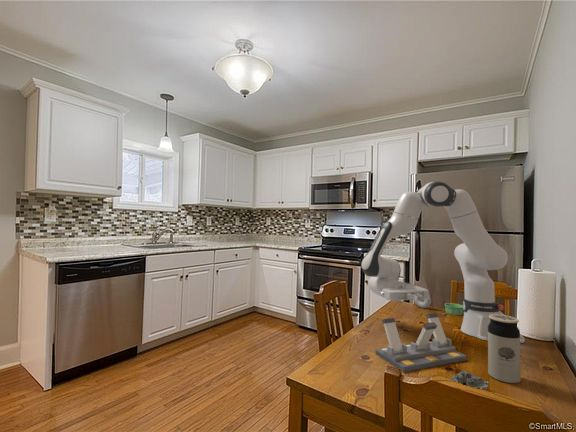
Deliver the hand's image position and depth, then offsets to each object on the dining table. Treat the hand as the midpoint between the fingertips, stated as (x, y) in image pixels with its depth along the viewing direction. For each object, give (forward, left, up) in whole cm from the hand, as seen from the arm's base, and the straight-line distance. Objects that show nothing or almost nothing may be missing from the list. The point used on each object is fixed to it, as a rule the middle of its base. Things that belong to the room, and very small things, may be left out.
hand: (419, 298), depth 118 cm
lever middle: (+1, +14, -13) cm, 20 cm away
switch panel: (+1, +14, -17) cm, 22 cm away
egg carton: (-10, +33, -18) cm, 39 cm away
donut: (-5, -57, -18) cm, 60 cm away
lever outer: (+8, +21, -13) cm, 26 cm away
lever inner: (-7, +8, -13) cm, 17 cm away
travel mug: (-22, +20, -18) cm, 35 cm away
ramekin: (-20, -52, -18) cm, 58 cm away
